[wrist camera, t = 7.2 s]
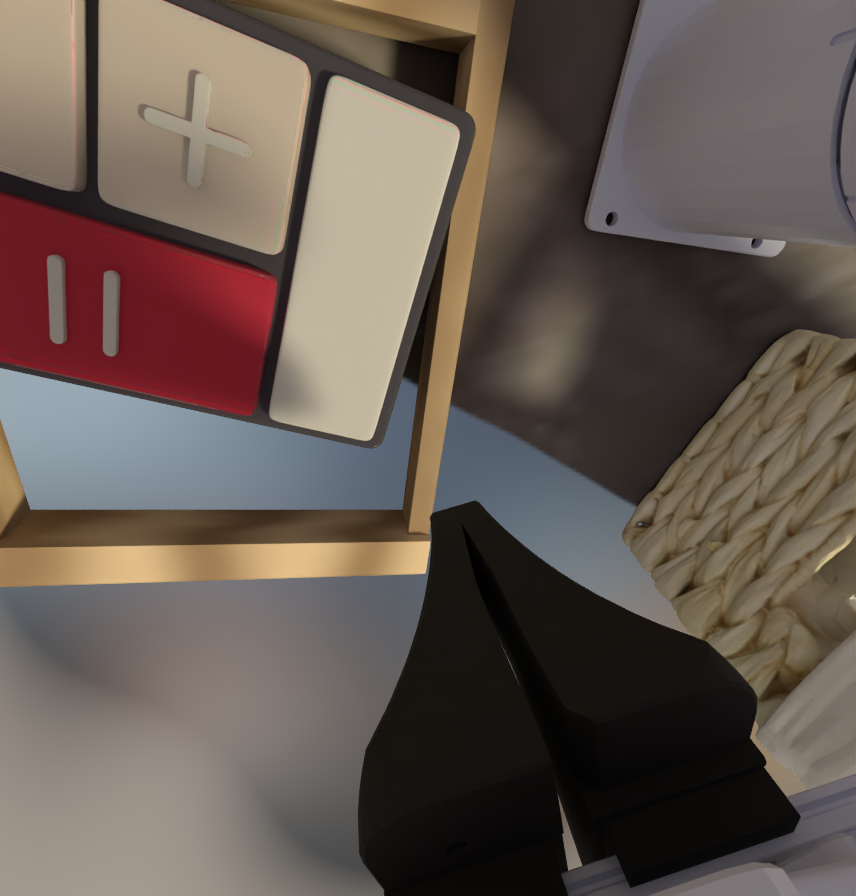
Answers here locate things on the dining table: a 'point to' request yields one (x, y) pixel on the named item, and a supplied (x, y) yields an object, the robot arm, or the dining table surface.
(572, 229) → the dining table surface
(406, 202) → the calculator
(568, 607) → the robot arm
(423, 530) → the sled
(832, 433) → the storage basket
